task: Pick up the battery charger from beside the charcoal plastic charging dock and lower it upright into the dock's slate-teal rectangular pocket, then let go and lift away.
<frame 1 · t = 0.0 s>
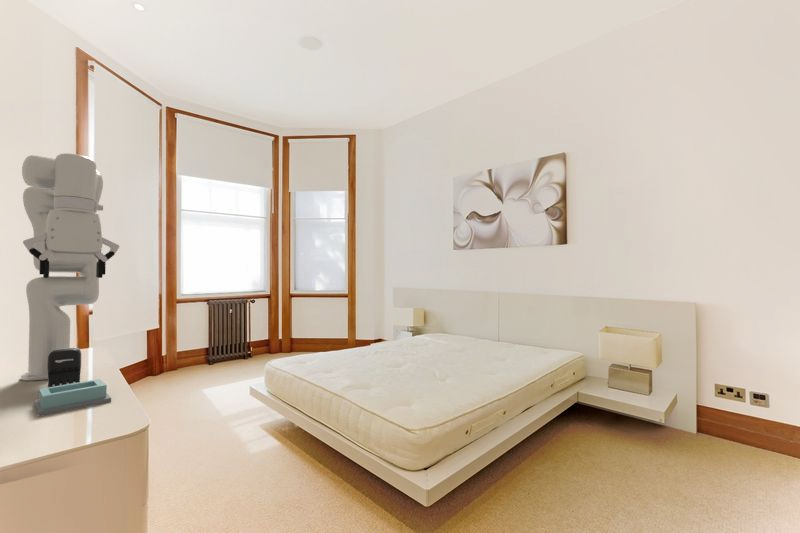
hand: (73, 277, 88), 31 cm above the table, fingers open, 9 cm apart
dock: (73, 403, 91), on the table
battery charger: (63, 390, 101), on the table
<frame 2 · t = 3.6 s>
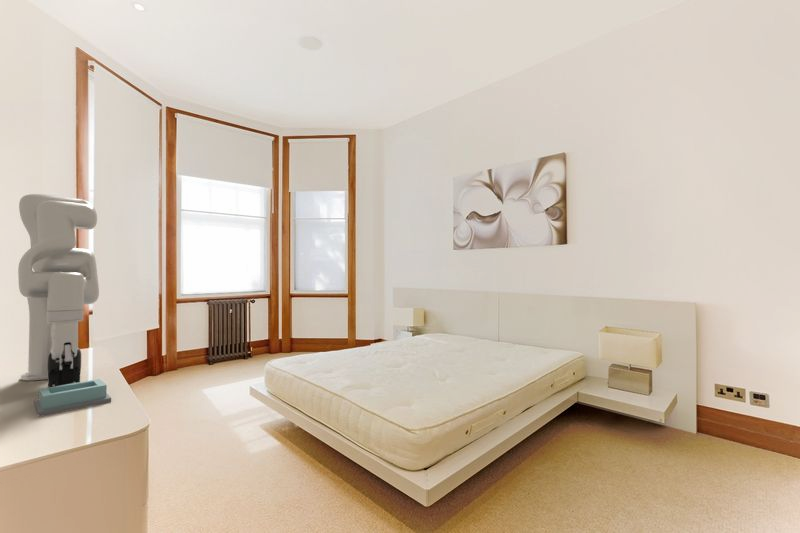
hand: (64, 381, 102), 2 cm above the table, fingers closed on battery charger, 4 cm apart
battery charger: (64, 390, 101), on the table, touching gripper
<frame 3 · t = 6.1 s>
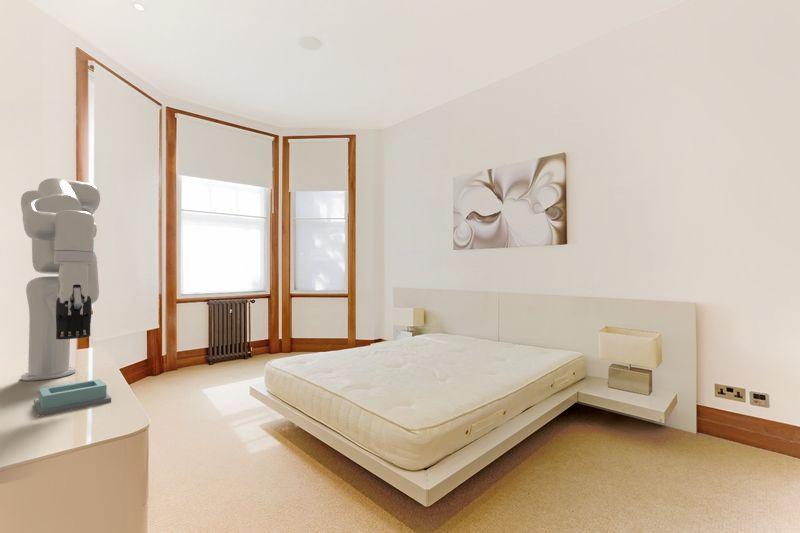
hand: (73, 329, 93), 18 cm above the table, fingers closed on battery charger, 4 cm apart
battery charger: (73, 339, 93), point 15 cm above the table, touching gripper
when the fingers open (5 cm above the table, at t = 8.9 s): battery charger drops 1 cm, resting on dock.
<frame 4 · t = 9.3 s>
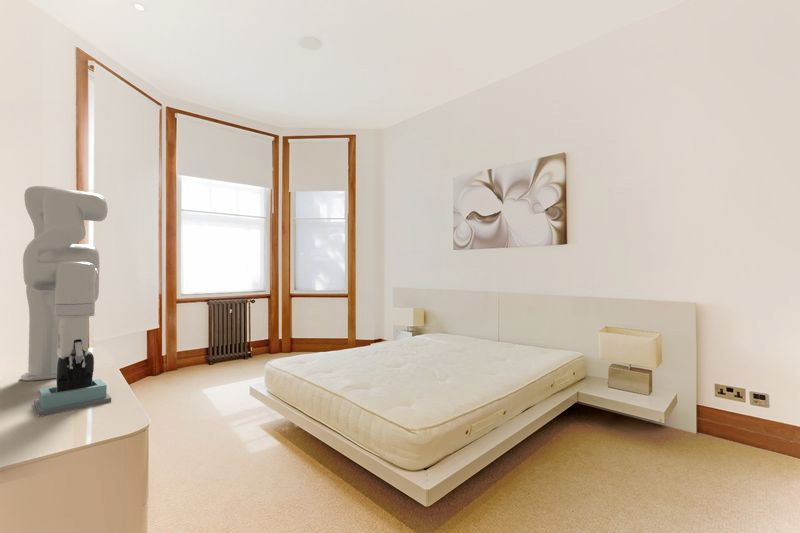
hand: (73, 381, 91), 5 cm above the table, fingers open, 7 cm apart
battery charger: (74, 399, 91), point 1 cm above the table, touching dock
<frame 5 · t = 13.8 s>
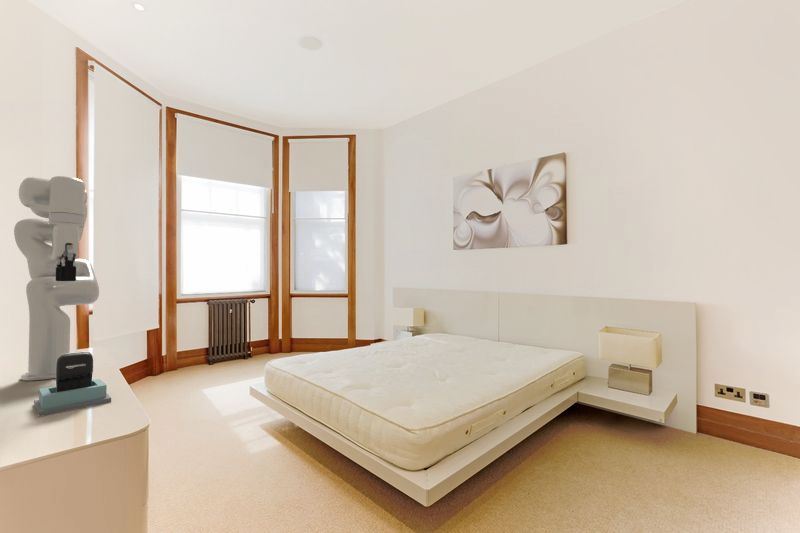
hand: (65, 281, 104), 30 cm above the table, fingers open, 9 cm apart
nothing on the table moved.
at the end: battery charger 0.5 cm off-centre on the dock, point 0.8 cm above the dock's base; battery charger tilted 0°; the gripper is holding nothing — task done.
